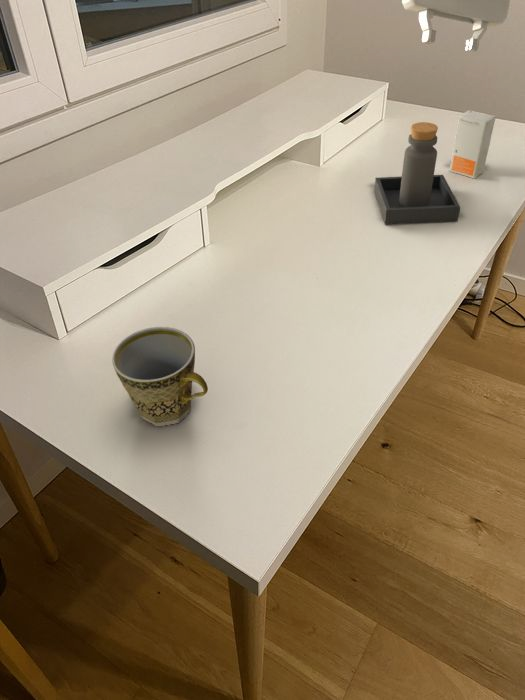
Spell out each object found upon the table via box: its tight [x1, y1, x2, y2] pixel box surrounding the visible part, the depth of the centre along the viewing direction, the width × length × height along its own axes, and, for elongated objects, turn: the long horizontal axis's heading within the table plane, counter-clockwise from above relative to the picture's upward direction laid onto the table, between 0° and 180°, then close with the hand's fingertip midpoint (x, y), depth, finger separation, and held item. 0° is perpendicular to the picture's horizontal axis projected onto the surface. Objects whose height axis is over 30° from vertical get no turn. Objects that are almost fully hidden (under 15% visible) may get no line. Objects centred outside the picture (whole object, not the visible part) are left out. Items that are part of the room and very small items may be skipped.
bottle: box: [399, 121, 439, 207], centre depth 110 cm, size 6×6×15 cm
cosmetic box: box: [449, 109, 496, 180], centre depth 121 cm, size 6×4×12 cm
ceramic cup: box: [111, 326, 209, 427], centre depth 73 cm, size 13×10×10 cm
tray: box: [374, 174, 461, 226], centre depth 114 cm, size 14×14×3 cm
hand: (450, 46), depth 102 cm, fingers open, 8 cm apart
